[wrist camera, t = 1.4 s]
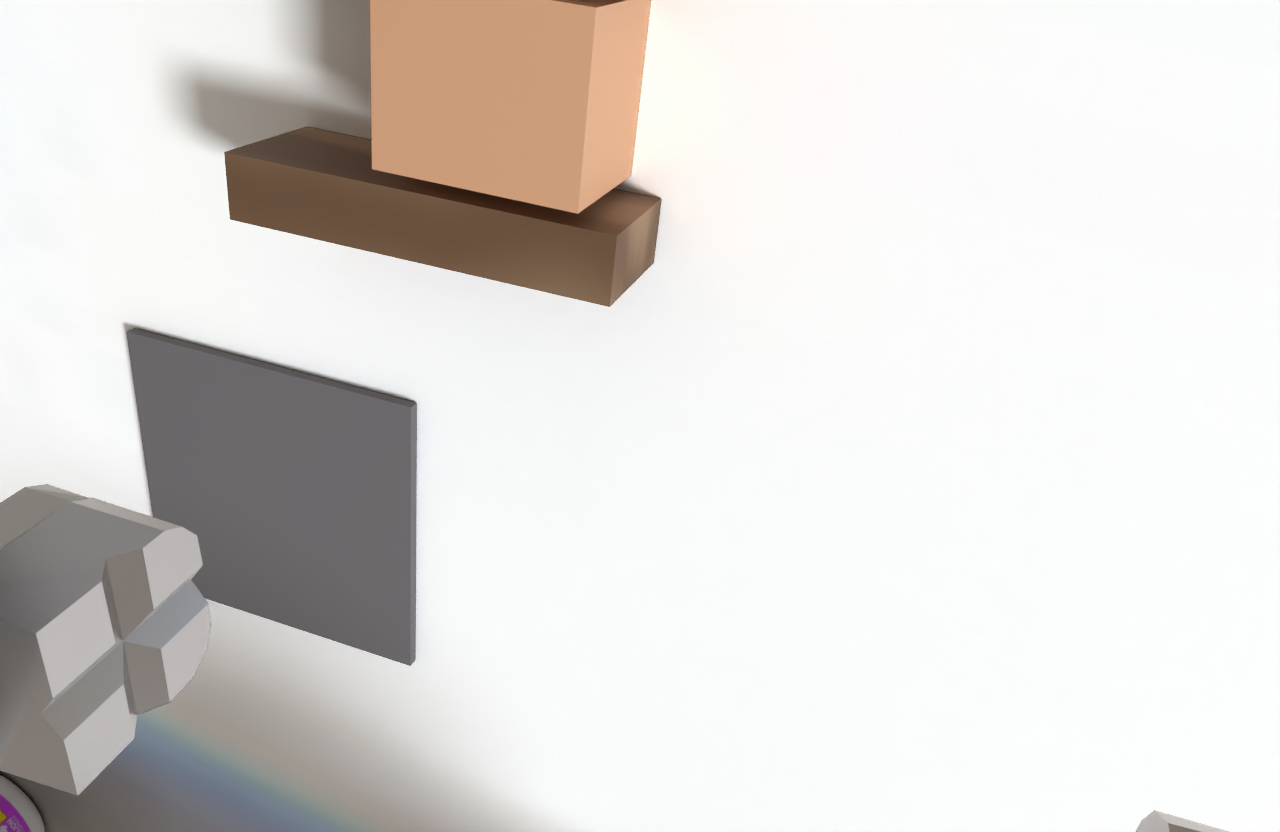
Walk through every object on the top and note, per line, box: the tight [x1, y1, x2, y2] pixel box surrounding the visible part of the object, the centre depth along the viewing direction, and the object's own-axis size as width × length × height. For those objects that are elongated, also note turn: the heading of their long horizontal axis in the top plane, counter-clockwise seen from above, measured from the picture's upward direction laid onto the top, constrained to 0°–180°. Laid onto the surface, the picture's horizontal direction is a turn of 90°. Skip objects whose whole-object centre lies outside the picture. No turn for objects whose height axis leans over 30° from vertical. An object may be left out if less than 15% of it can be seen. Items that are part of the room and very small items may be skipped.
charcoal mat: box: [127, 328, 417, 666], centre depth 40 cm, size 12×12×1 cm
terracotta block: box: [370, 0, 651, 214], centre depth 28 cm, size 5×6×4 cm
